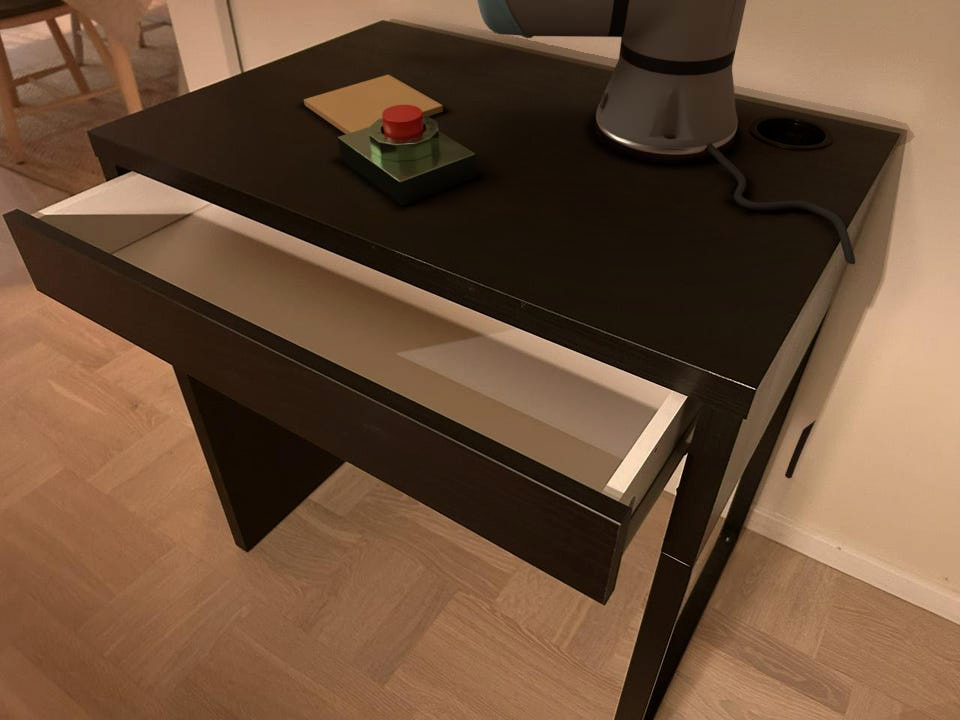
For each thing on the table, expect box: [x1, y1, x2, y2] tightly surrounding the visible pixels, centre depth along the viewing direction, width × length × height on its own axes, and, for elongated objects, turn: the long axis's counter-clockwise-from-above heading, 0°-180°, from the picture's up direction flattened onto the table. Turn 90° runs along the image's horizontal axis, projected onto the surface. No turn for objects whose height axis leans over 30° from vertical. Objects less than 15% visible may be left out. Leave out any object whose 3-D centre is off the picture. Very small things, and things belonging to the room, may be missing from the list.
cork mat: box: [303, 74, 444, 135], centre depth 89 cm, size 12×12×1 cm
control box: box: [337, 116, 477, 207], centre depth 77 cm, size 12×9×4 cm
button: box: [382, 105, 424, 139], centre depth 75 cm, size 4×4×2 cm
